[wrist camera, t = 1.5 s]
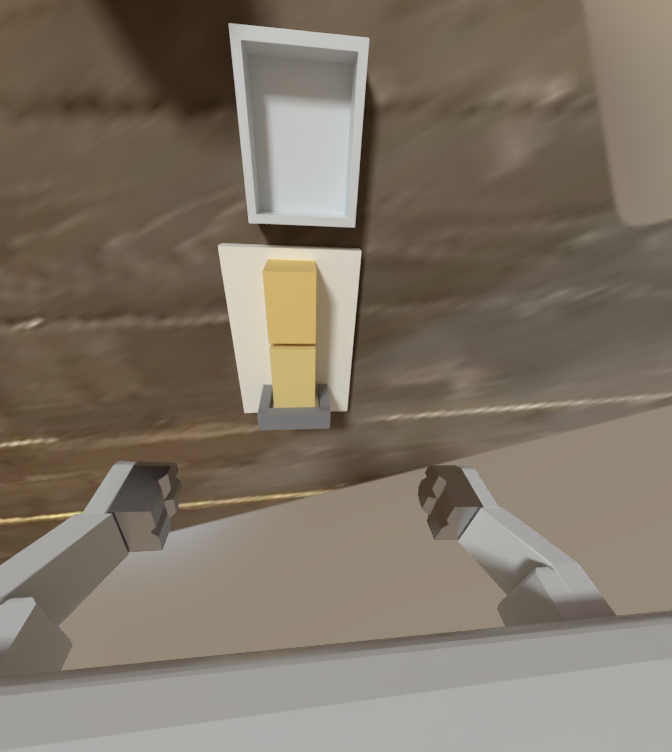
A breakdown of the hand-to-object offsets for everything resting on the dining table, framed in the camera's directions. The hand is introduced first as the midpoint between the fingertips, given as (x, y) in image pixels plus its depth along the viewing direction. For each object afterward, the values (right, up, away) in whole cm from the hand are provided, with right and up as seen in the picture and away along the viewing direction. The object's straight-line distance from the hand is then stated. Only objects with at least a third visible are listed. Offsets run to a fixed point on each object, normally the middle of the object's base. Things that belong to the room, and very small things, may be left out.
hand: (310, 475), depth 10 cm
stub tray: (-2, +21, +12) cm, 24 cm away
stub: (-3, +11, +17) cm, 21 cm away
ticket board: (-3, +7, +21) cm, 23 cm away
